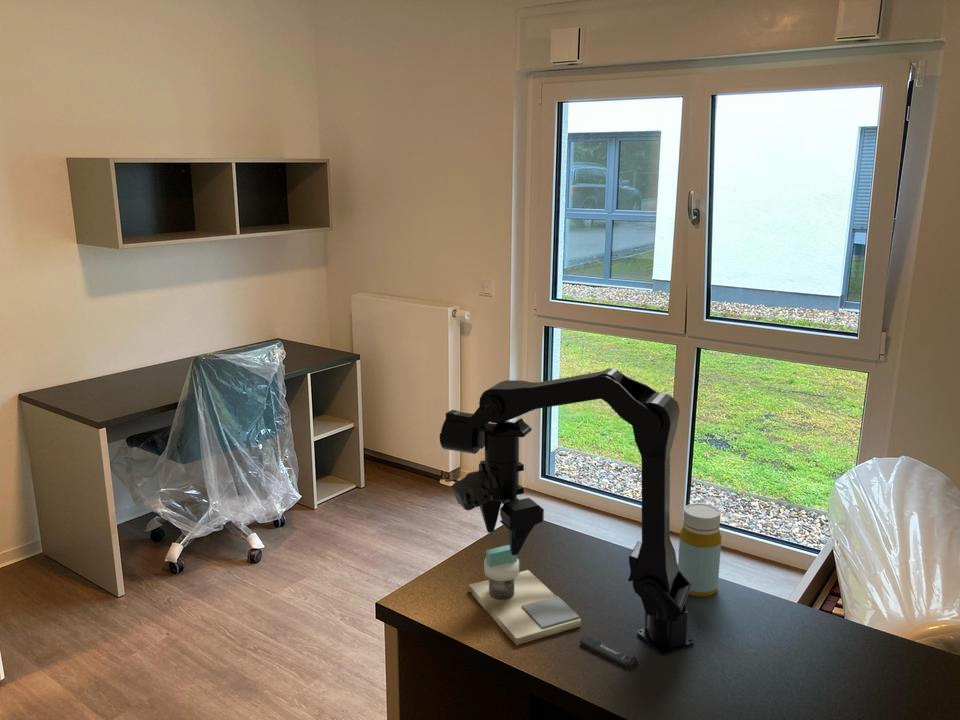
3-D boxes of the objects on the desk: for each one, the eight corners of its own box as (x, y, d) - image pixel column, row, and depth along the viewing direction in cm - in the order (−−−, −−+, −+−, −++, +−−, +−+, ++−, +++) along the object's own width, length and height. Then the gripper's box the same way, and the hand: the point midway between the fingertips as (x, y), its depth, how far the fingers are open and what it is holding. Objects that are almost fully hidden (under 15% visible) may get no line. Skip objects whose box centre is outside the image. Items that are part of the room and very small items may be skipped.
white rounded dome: (525, 576, 132) (525, 552, 131) (493, 584, 130) (493, 560, 128) (509, 560, 137) (509, 538, 136) (478, 568, 135) (478, 545, 134)
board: (580, 626, 126) (581, 597, 125) (516, 645, 122) (516, 615, 120) (528, 575, 142) (528, 550, 141) (468, 590, 137) (468, 564, 136)
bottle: (713, 579, 141) (718, 502, 137) (721, 599, 134) (727, 520, 130) (674, 577, 141) (678, 501, 138) (680, 597, 135) (684, 518, 131)
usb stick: (577, 647, 122) (578, 638, 121) (587, 640, 123) (587, 631, 123) (629, 673, 115) (629, 664, 115) (638, 665, 117) (639, 656, 117)
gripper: (435, 447, 133) (438, 530, 137) (482, 485, 117) (483, 578, 120) (493, 437, 138) (494, 518, 141) (546, 473, 121) (545, 563, 125)
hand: (502, 543), depth 132 cm, fingers open, 9 cm apart
